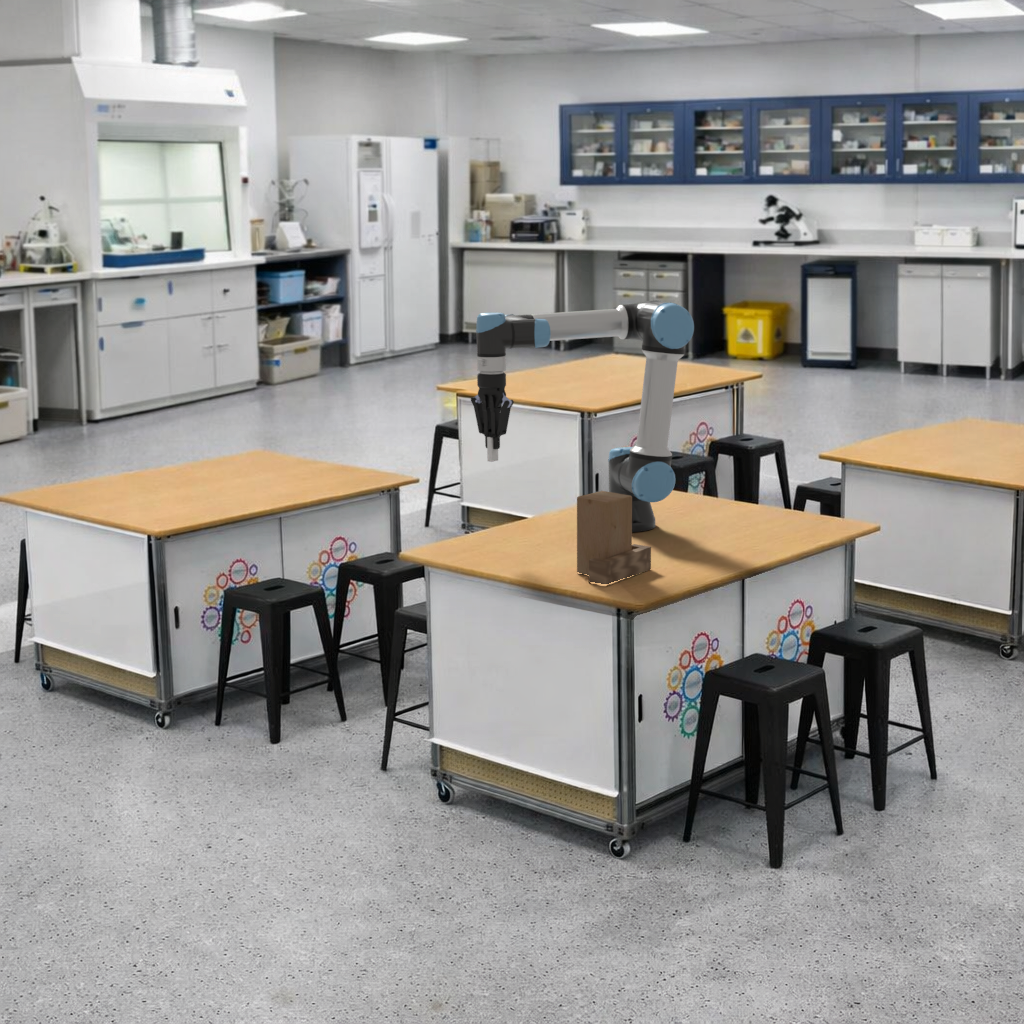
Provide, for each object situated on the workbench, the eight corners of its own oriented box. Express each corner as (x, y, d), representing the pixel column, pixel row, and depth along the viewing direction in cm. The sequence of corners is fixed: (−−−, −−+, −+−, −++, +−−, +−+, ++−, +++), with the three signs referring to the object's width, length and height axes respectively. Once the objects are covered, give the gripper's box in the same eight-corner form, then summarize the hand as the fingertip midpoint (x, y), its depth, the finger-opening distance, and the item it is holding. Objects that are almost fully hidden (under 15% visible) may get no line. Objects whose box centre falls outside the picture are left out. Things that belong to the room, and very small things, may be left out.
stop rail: (634, 566, 369) (634, 544, 368) (650, 569, 366) (651, 546, 364) (589, 583, 354) (589, 559, 352) (605, 586, 350) (605, 562, 349)
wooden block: (606, 581, 356) (607, 501, 351) (576, 574, 362) (576, 496, 358) (632, 573, 363) (632, 495, 358) (601, 566, 370) (602, 490, 365)
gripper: (463, 372, 379) (465, 460, 384) (501, 375, 371) (503, 465, 376) (481, 369, 385) (482, 456, 390) (519, 372, 377) (520, 461, 382)
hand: (492, 460), depth 383 cm, fingers closed
